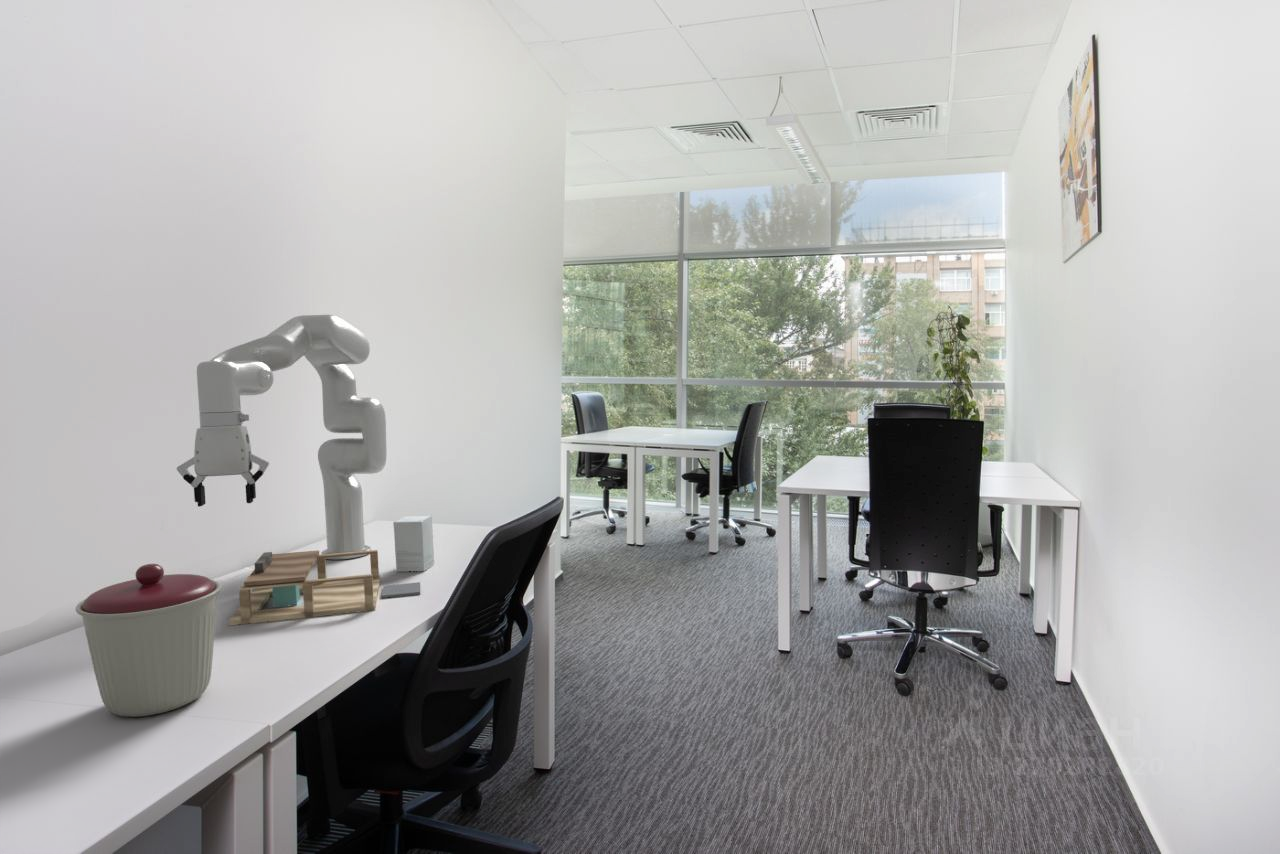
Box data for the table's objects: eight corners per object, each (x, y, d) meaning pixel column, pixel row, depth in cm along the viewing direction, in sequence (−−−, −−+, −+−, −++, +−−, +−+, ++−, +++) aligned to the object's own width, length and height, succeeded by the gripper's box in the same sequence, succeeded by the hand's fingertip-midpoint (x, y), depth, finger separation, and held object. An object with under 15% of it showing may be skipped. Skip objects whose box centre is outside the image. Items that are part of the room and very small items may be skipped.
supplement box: (435, 564, 190) (433, 515, 189) (424, 572, 183) (421, 521, 182) (407, 564, 191) (405, 515, 190) (395, 572, 184) (392, 521, 183)
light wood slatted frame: (254, 591, 169) (252, 560, 169) (380, 579, 177) (378, 549, 176) (229, 625, 146) (227, 589, 146) (375, 610, 154) (373, 575, 154)
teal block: (277, 601, 162) (275, 569, 161) (299, 599, 163) (298, 567, 163) (273, 607, 157) (271, 575, 157) (296, 605, 159) (294, 572, 158)
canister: (54, 719, 107) (42, 575, 106) (173, 671, 124) (163, 546, 122) (142, 739, 101) (130, 586, 99) (254, 685, 118) (246, 554, 116)
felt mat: (383, 588, 170) (383, 585, 170) (420, 584, 172) (419, 582, 172) (381, 598, 162) (381, 595, 162) (420, 594, 164) (420, 591, 164)
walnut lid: (267, 558, 169) (266, 546, 169) (319, 553, 173) (318, 541, 172) (244, 586, 147) (243, 572, 147) (304, 580, 150) (304, 566, 150)
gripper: (270, 418, 160) (274, 498, 162) (178, 421, 155) (184, 504, 157) (263, 420, 153) (268, 503, 155) (167, 423, 148) (173, 510, 150)
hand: (226, 503), depth 156 cm, fingers open, 8 cm apart
